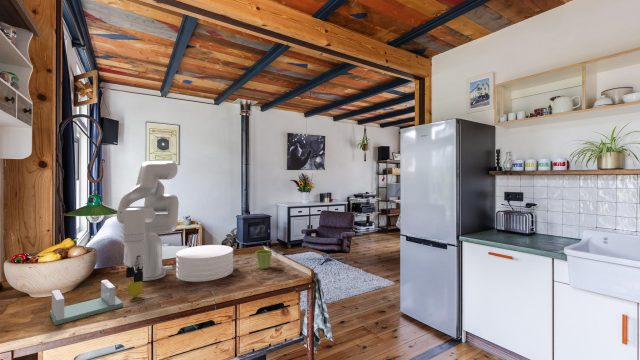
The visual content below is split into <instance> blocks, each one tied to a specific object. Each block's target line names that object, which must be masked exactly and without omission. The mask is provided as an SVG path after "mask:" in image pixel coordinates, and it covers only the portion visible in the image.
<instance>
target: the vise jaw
mask: <svg viewBox="0 0 640 360" xmlns="http://www.w3.org/2000/svg"><path fill="white" fill-rule="evenodd" d="M115 296H116V286H115V285H114V284H112V282H110V281H109V280H108V279H103V280H100V298H103V300H104V301H105V302H106V303H107V304H108V305H109V306H110V305H113V304H115Z"/></svg>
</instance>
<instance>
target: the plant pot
mask: <svg viewBox="0 0 640 360" xmlns="http://www.w3.org/2000/svg"><path fill="white" fill-rule="evenodd" d="M272 253H273V250H270V249H262V250H257V251H255V253H254V254H255V256H256V260H257V267H258V268H259V269H261V270H264V269H266V270H267V269H269V268H270V266H271V258H272V255H273V254H272Z"/></svg>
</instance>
